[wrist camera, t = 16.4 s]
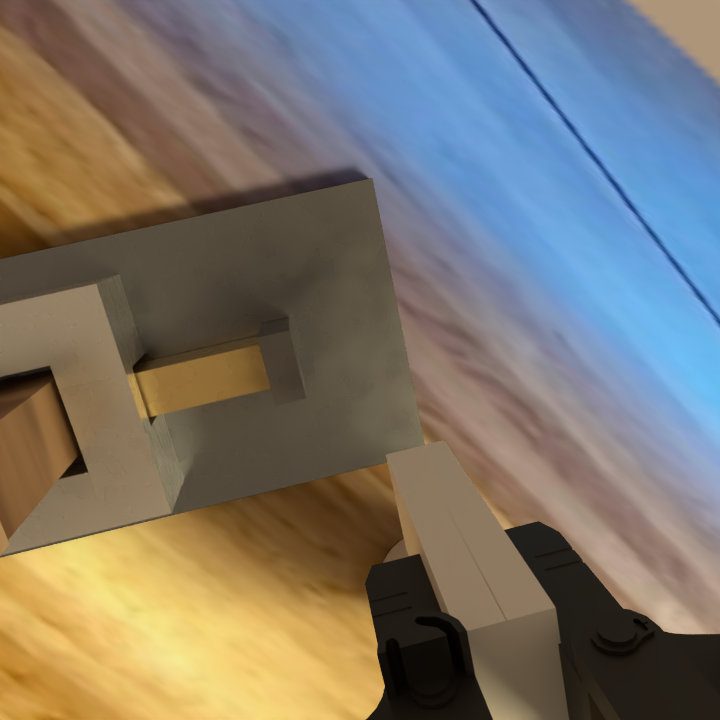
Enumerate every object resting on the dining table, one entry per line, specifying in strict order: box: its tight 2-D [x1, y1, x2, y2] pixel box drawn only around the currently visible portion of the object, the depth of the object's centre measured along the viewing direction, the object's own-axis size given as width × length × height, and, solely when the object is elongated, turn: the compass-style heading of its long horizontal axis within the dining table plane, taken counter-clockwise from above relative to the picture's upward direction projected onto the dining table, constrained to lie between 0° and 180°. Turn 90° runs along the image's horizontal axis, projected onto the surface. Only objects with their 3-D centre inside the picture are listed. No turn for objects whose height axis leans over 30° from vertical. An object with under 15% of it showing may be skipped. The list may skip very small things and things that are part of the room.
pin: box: [132, 317, 306, 417], centre depth 32 cm, size 11×4×4 cm, turn 102°
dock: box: [0, 178, 425, 558], centre depth 32 cm, size 28×16×5 cm, turn 102°
